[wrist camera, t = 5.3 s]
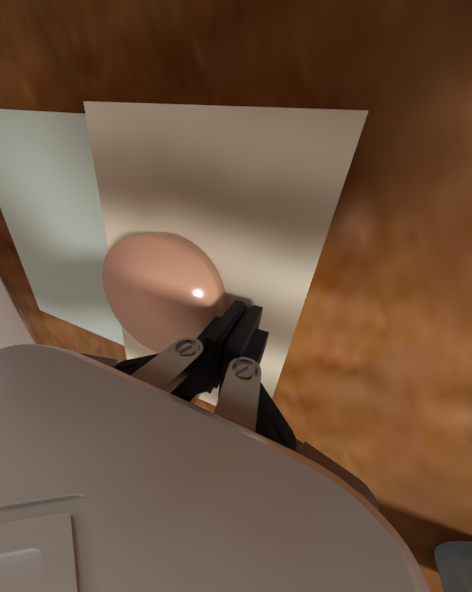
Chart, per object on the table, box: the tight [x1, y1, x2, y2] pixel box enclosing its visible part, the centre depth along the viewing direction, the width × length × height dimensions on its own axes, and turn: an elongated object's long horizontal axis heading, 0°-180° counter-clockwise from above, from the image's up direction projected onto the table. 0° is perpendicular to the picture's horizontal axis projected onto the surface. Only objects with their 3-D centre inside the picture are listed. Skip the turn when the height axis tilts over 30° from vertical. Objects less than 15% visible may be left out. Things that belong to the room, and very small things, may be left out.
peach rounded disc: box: [102, 232, 226, 353], centre depth 13 cm, size 8×8×2 cm
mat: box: [0, 109, 125, 346], centre depth 20 cm, size 20×16×1 cm
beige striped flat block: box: [83, 101, 368, 406], centre depth 15 cm, size 20×14×3 cm
